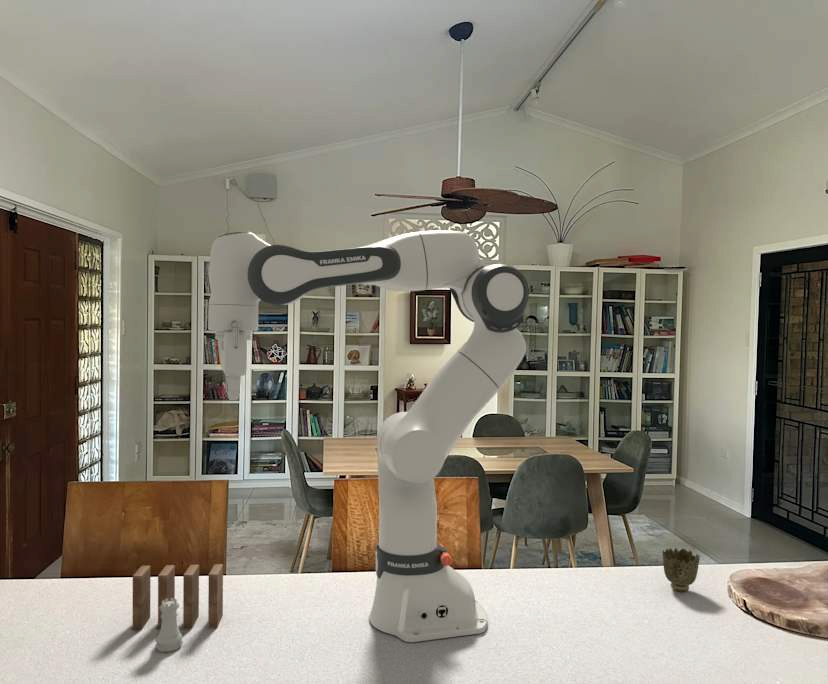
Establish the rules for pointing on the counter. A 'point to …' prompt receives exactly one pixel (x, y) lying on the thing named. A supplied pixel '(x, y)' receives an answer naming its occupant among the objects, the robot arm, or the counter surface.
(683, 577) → the cup
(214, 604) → the domino
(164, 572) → the domino
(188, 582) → the domino
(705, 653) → the counter surface
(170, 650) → the rook chess piece
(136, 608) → the domino
